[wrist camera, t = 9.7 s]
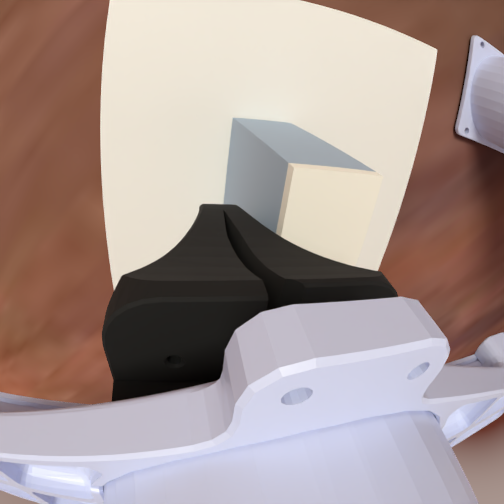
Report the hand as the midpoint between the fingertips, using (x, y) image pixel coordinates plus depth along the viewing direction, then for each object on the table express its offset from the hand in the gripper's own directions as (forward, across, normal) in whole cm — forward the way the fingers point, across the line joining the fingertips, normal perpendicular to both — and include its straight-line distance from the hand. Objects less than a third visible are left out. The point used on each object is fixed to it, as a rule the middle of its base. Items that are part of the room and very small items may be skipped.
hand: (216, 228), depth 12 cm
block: (+5, -2, 0) cm, 6 cm away
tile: (+6, -4, -1) cm, 7 cm away
